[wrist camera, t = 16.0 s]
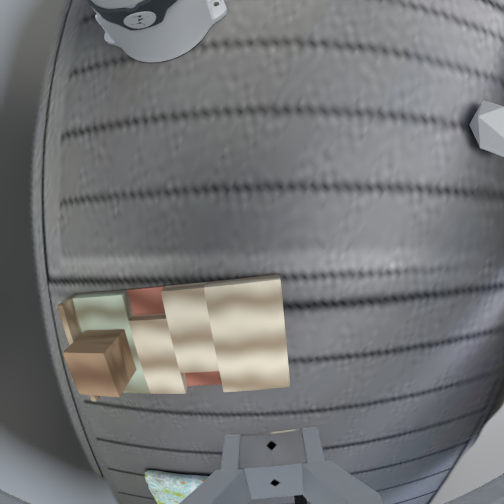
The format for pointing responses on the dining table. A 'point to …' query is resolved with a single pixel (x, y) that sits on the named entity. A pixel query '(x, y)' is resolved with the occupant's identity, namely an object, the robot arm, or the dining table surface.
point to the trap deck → (192, 333)
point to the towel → (171, 485)
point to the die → (489, 127)
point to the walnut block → (101, 362)
